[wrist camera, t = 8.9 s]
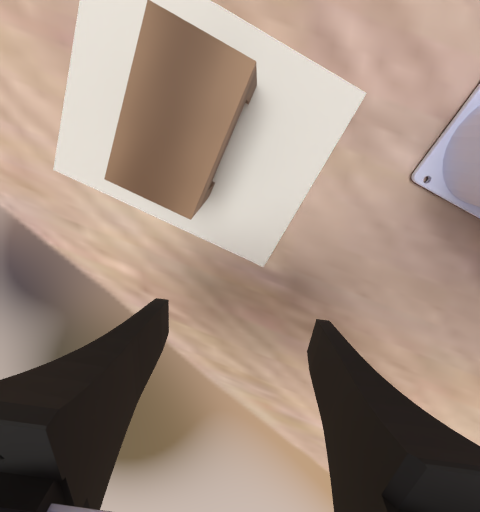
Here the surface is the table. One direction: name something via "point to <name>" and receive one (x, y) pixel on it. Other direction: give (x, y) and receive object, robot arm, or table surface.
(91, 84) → the mat
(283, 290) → the table surface
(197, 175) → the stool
